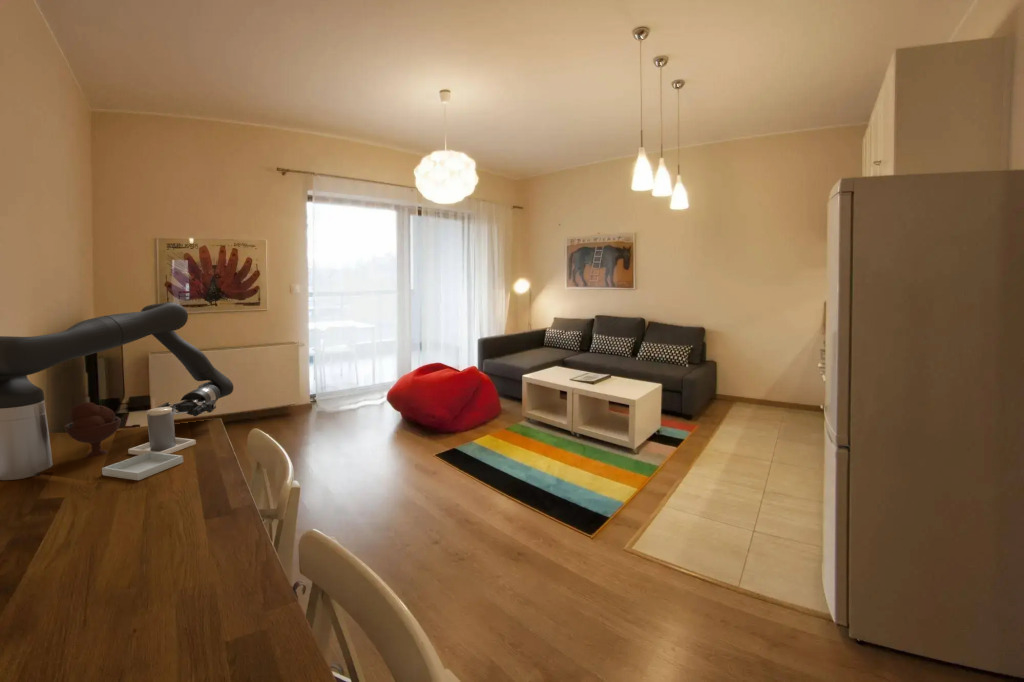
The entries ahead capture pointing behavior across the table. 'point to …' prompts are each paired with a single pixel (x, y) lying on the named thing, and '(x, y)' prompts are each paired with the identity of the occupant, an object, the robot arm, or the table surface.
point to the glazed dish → (142, 465)
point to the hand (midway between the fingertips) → (177, 414)
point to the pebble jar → (161, 429)
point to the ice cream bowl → (92, 425)
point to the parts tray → (180, 444)
